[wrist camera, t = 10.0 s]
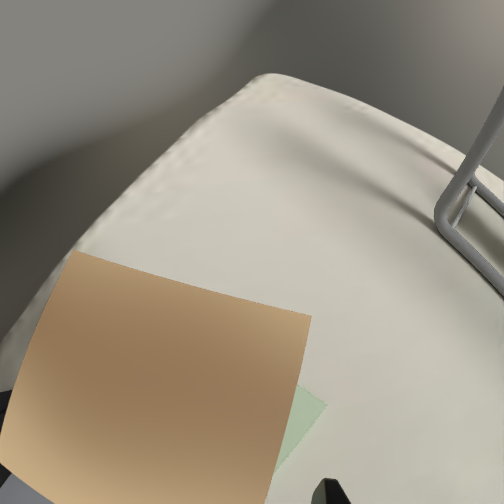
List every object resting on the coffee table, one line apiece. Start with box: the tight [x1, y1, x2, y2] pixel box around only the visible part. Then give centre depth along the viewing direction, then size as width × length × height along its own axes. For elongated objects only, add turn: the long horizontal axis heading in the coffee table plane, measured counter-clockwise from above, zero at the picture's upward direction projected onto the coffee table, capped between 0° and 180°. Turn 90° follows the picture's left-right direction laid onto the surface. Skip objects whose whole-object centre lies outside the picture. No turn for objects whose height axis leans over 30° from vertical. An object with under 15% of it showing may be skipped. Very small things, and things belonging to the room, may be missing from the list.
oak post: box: [0, 250, 311, 504], centre depth 9 cm, size 5×5×12 cm
